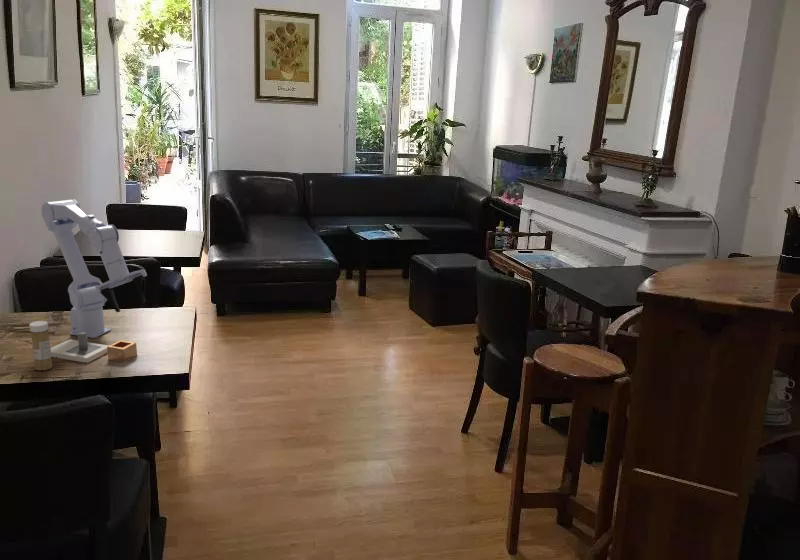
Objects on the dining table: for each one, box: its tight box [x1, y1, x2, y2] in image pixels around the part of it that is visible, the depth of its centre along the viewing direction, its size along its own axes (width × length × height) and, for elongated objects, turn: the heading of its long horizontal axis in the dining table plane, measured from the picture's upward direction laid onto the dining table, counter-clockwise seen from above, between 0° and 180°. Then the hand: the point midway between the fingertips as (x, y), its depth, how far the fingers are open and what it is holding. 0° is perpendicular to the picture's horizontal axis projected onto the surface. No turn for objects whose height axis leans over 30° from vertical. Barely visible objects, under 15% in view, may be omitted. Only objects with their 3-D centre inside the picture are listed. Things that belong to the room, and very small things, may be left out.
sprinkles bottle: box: [28, 320, 54, 371], centre depth 183 cm, size 5×5×13 cm
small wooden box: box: [107, 339, 138, 363], centre depth 193 cm, size 6×6×4 cm
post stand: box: [50, 332, 109, 364], centre depth 195 cm, size 15×10×6 cm, turn 73°
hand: (131, 306), depth 193 cm, fingers open, 7 cm apart
